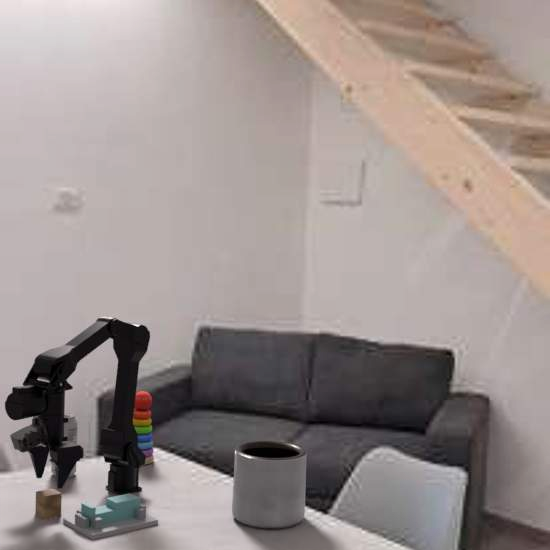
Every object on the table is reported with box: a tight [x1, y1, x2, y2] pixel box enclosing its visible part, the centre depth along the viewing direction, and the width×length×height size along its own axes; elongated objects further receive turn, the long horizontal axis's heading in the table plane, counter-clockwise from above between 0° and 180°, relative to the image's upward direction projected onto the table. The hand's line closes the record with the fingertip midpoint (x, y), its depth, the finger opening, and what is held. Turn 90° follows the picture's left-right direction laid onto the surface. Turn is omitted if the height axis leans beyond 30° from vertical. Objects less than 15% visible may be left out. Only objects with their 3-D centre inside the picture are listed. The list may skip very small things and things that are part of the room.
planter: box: [231, 440, 308, 530], centre depth 210 cm, size 16×16×16 cm
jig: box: [62, 502, 159, 541], centre depth 203 cm, size 16×12×3 cm
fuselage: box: [80, 492, 141, 527], centre depth 203 cm, size 12×4×4 cm, turn 132°
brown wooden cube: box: [34, 488, 63, 520], centre depth 207 cm, size 4×4×5 cm
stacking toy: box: [133, 390, 155, 466], centre depth 250 cm, size 8×8×19 cm
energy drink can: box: [50, 412, 78, 478], centre depth 235 cm, size 6×6×15 cm
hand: (49, 483), depth 206 cm, fingers open, 9 cm apart
